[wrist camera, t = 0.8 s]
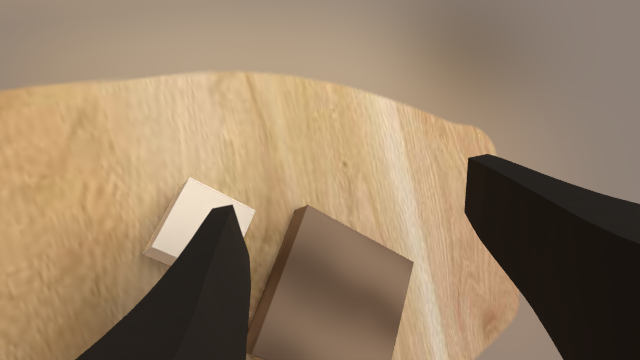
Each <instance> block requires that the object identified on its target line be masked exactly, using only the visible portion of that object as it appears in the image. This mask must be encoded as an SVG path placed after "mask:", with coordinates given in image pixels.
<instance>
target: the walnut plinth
mask: <svg viewBox="0 0 640 360" xmlns="http://www.w3.org/2000/svg"><path fill="white" fill-rule="evenodd" d="M413 263H414V262H412V261H410V260H409V259H407V258H405V257H403V256H401V255H399V254H398V253H396V252H394V251H392V250H390V249H388V248H386V247H385V246H383V245H381V244H379V243H377V242H375V241H374V240H372V239H370V238H368V237H366V236H364V235H363V234H361V233H359V232H357V231H355V230H353V229H351V228H350V227H348V226H346V225H344V224H342V223H340V222H339V221H337V220H335V219H333V218H331V217H329V216H328V215H326V214H324V213H322V212H320V211H318V210H317V209H315V208H313V207H311V206H309V205H307V206H304V207H302V208H299V209H297V210H295V213H294V216H293V218H292V221H291V223H290V226H289V228H288V231H287V234H286V236H285V239H284V241H283V244H282V246H281V249H280V251H279V254H278V257H277V259H276V262H275V264H274V267H273V269H272V272H271V275H270V277H269V280H268V282H267V285H266V287H265V290H264V293H263V295H262V298H261V300H260V303H259V305H258V308H257V311H256V313H255V316H254V318H253V321H252V323H251V326H250V329H249V331H248V334H247V346H246V352H247V353H249V354H251V355H254V356H257V357H259V358H262V359H265V360H391V359H392V355H393V350H394V346H395V341H396V337H397V333H398V328H399V324H400V320H401V315H402V311H403V307H404V302H405V298H406V293H407V289H408V285H409V280H410V276H411V272H412V267H413Z"/></svg>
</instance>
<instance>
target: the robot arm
mask: <svg viewBox="0 0 640 360" xmlns="http://www.w3.org/2000/svg"><path fill="white" fill-rule="evenodd" d="M465 214H466V216H467V218H468V219H469V221H470V223H471V225H472V227H473V229H474V230H475V232H476V234H477V235H478V237H479V239H480V240H481V241H482V243H483V244H484V245H485V247H486V248H487V249H488V251H489V252H490V253H491V255H492V256H493V257H494V258H495V260H496V261H497V262H498V264H499V265H500V266H501V267H502V269H503V270H504V271H505V273H506V274H507V275H508V276H509V278H510V279H511V280H512V282H513V283H514V284H515V285H516V287H517V288H518V289H519V291H520V292H521V293H522V294H523V296H524V297H525V298H526V300H527V301H528V303H529V304H530V306H531V307H532V308H533V310H534V312H535V313H536V315H537V316H538V318H539V320H540V321H541V323H542V324H543V326H544V328H545V329H546V331H547V332H548V334H549V336H550V337H551V339H552V341H553V342H554V344H555V346H556V347H557V349H558V351H559V353H560V354H561V356H562V358H563V359H564V360H640V204H637V203H633V202H629V201H626V200H622V199H618V198H614V197H610V196H607V195H603V194H600V193H597V192H594V191H591V190H588V189H584V188H582V187H579V186H575V185H572V184H570V183H567V182H564V181H561V180H558V179H555V178H553V177H550V176H547V175H544V174H542V173H539V172H537V171H534V170H532V169H529V168H526V167H524V166H521V165H519V164H516V163H513V162H511V161H508V160H505V159H502V158H499V157H496V156H493V155H489V154H485V155H480V156H475V157H470V158H468V169H467V183H466V197H465ZM250 292H251V277H250V260H249V254H248V250H247V247H246V244H245V241H244V238H243V235H242V232H241V229H240V225H239V222H238V219H237V216H236V213H235V210H234V207H233V204H232V205H227V206H222V207H217V208H212V209H211V211H210V212H209V214H208V215H207V216H206V218H205V219H204V221H203V222H202V224H201V225H200V227H199V228H198V230H197V231H196V233H195V234H194V236H193V237H192V239H191V240H190V241H189V243H188V244H187V246H186V247H185V248H184V250H183V251H182V252H181V254H180V255H179V257H178V258H177V259H176V260H175V262H174V263H173V264H172V265H171V267H170V268H169V269H168V270H167V272H166V273H165V274H164V275H163V277H162V278H161V279H160V280H159V281H158V283H157V284H156V285H155V286H154V287H153V288H152V289H151V290H150V292H149V293H148V294H147V295H146V296H145V297H144V298H143V299H142V300H141V301H140V302H139V303H138V304H137V305H136V306H135V307H134V308H133V309H132V310H131V311H130V312H129V313H128V314H127V315H126V316H125V317H124V318H123V319H122V320H120V321H119V322H118V323H117V324H116V325H115V326H114V327H113V328H112V329H111V330H109V331H108V332H107V333H106V334H105V335H104V336H103V337H102V338H101V339H100V340H98V341H97V342H96V343H95V344H94V345H92V346H91V347H90V348H89V349H88V350H86V351H85V352H84V353H83V354H82V355H80V356H79V357H78V358H77V359H75V360H246V346H247V333H248V320H249V306H250Z"/></svg>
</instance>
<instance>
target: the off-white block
mask: <svg viewBox="0 0 640 360" xmlns="http://www.w3.org/2000/svg"><path fill="white" fill-rule="evenodd" d="M232 204H233V207H234V210H235V213H236V216H237V219H238V222H239V225H240V229H241V232H242V235H243V238H244V236H245V233H246V231H247V229H248V227H249V224H250V222H251V220H252V217H253V215H254V213H255V211H256V210H254V209H252V208H250V207H248V206H246V205H244V204H242V203H240V202H238V201H236V200H234V199H232V198H230V197H228V196H226V195H224V194H222V193H220V192H218V191H217V190H215V189H213V188H211V187H209V186H207V185H205V184H203V183H201V182H199V181H197V180H195V179H193V178H191V177H189V178H188V179H187V181H186V182H185V183H184V184H183V186H182V187H181V188H180V189H179V190H178V192H177V193H176V194H175V195H174V197H173V199H172V201H171V202H170V204H169V206H168V208H167V210H166V211H165V213H164V215H163V217H162V219H161V221H160V222H159V224H158V226H157V228H156V230H155V232H154V233H153V235H152V237H151V239H150V241H149V242H148V244H147V246H146V248H145V250H144V252H143V253H142V254H143V255H145V256H147V257H150V258H152V259H155V260H157V261H159V262H162V263H164V264H167V265H169V266H171V265H172V264H173V263H174V262H175V260H176V259H177V258H178V257H179V255H180V254H181V252H182V251H183V250H184V248H185V247H186V246H187V244H188V243H189V241H190V240H191V239H192V237H193V236H194V234H195V233H196V231H197V230H198V228H199V227H200V225H201V224H202V222H203V221H204V219H205V218H206V216H207V215H208V214H209V212H210V211H211V209H212V208H217V207H222V206H227V205H232Z"/></svg>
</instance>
